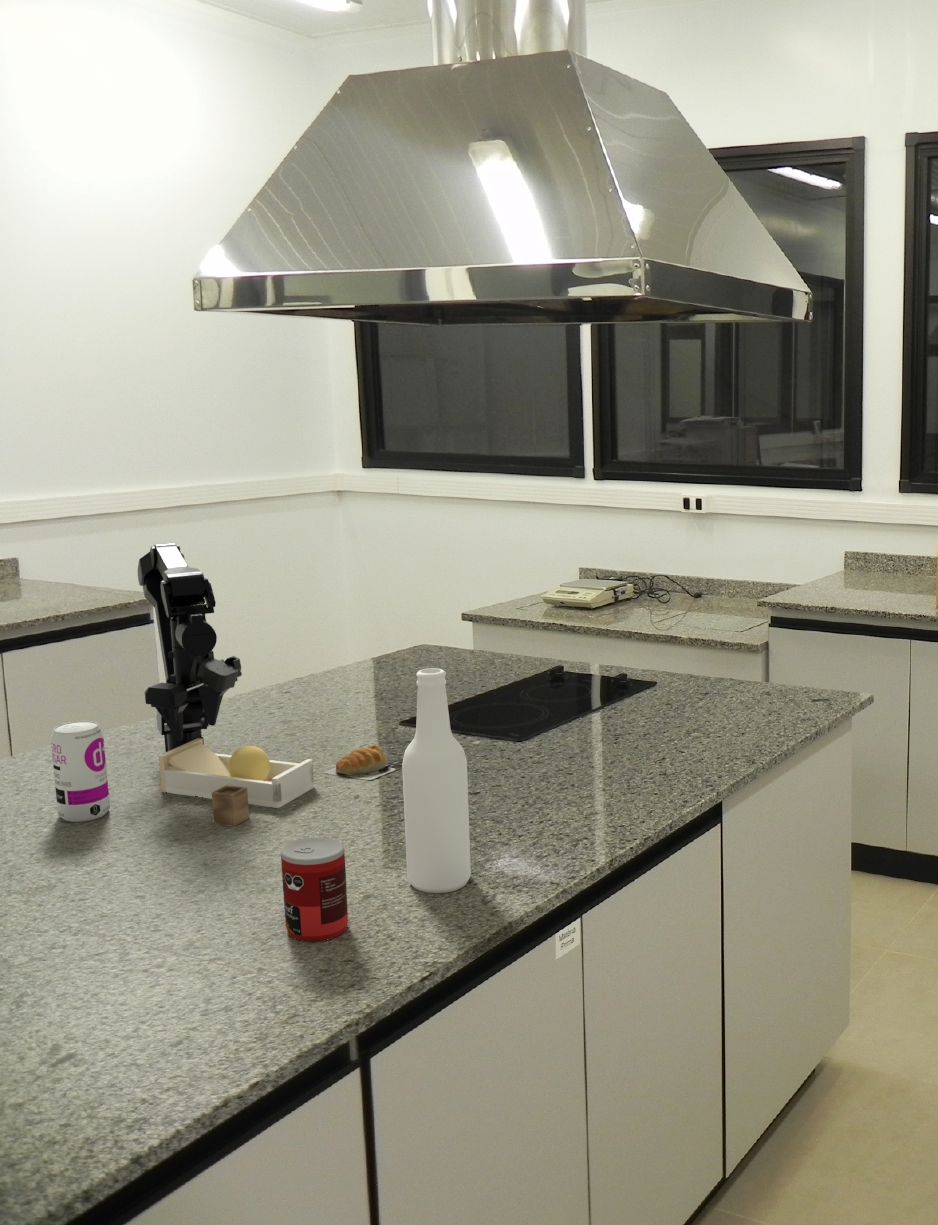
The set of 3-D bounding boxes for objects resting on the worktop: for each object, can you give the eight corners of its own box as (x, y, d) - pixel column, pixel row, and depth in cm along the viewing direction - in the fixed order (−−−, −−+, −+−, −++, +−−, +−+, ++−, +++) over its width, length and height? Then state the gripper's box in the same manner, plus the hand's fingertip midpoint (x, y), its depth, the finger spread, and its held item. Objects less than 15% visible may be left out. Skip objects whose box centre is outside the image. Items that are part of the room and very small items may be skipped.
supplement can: (120, 808, 203) (112, 721, 200) (89, 825, 195) (81, 735, 192) (79, 804, 206) (71, 718, 203) (47, 821, 198) (38, 732, 195)
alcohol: (406, 870, 173) (397, 665, 167) (468, 867, 174) (461, 662, 168) (408, 896, 164) (398, 680, 159) (473, 892, 165) (466, 677, 159)
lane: (161, 791, 210) (158, 755, 209) (200, 772, 220) (198, 738, 219) (278, 808, 200) (276, 770, 199) (314, 787, 210) (312, 751, 209)
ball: (248, 769, 202) (219, 784, 205) (278, 783, 207) (249, 798, 210) (249, 733, 206) (220, 748, 210) (278, 748, 211) (250, 763, 214)
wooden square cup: (213, 823, 194) (211, 792, 193) (228, 814, 198) (226, 784, 197) (234, 826, 193) (232, 795, 192) (249, 817, 196) (247, 787, 195)
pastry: (350, 780, 214) (349, 759, 213) (327, 772, 219) (325, 752, 218) (391, 767, 220) (390, 747, 220) (367, 760, 225) (366, 740, 224)
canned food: (287, 918, 159) (282, 838, 157) (349, 914, 159) (344, 835, 157) (283, 945, 151) (278, 861, 149) (348, 941, 152) (343, 857, 150)
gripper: (193, 659, 197) (200, 752, 200) (259, 636, 214) (265, 722, 217) (139, 655, 202) (146, 745, 205) (207, 632, 218) (214, 716, 221)
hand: (196, 732), depth 212 cm, fingers open, 9 cm apart
